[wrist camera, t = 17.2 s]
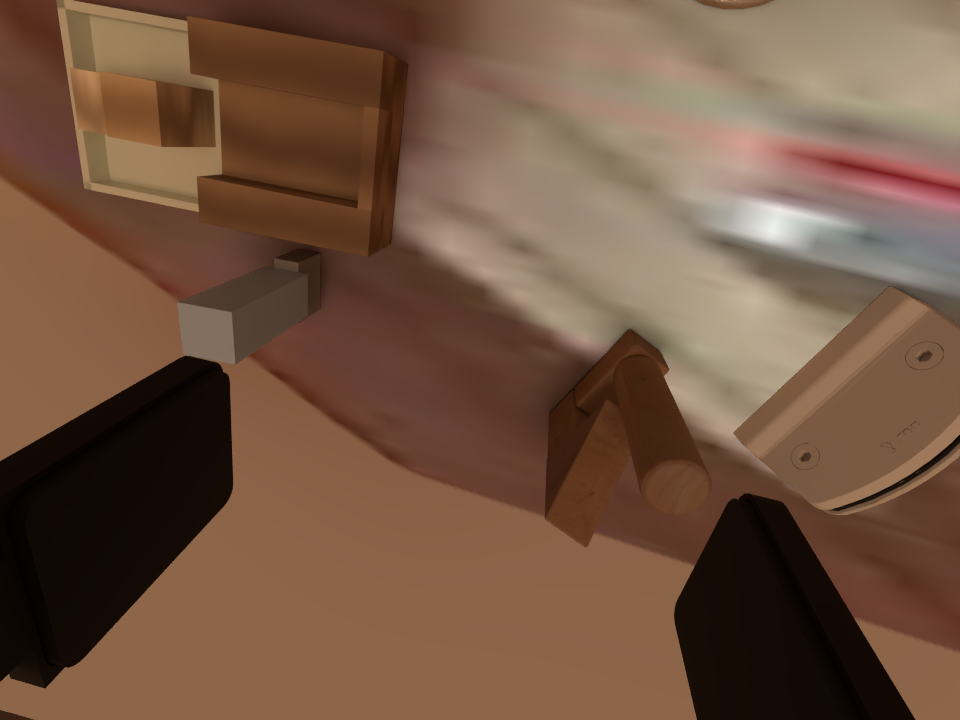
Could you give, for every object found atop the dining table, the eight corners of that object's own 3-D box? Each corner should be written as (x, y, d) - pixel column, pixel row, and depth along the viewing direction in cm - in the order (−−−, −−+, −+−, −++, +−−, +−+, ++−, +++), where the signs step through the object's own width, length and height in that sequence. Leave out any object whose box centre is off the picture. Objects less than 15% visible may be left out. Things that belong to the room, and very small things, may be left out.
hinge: (894, 281, 37) (1039, 354, 29) (924, 308, 39) (1068, 383, 31) (729, 435, 44) (808, 530, 35) (762, 452, 46) (844, 545, 37)
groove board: (237, 33, 37) (186, 15, 32) (407, 64, 36) (383, 51, 31) (241, 213, 42) (199, 222, 37) (390, 243, 41) (367, 256, 36)
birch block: (163, 83, 38) (115, 74, 39) (122, 77, 35) (69, 67, 35) (168, 139, 40) (121, 130, 40) (129, 139, 36) (78, 129, 37)
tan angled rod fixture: (547, 414, 45) (541, 565, 29) (629, 326, 41) (677, 445, 25) (578, 437, 46) (590, 598, 29) (663, 352, 42) (732, 486, 25)
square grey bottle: (289, 247, 43) (175, 290, 30) (329, 254, 42) (230, 300, 30) (291, 303, 45) (184, 365, 32) (328, 309, 44) (236, 375, 32)
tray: (86, 6, 37) (55, -3, 35) (234, 33, 37) (213, 25, 34) (109, 186, 43) (84, 188, 41) (239, 212, 42) (221, 216, 40)
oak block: (164, 81, 38) (98, 70, 33) (213, 91, 38) (155, 81, 33) (168, 138, 40) (107, 136, 34) (215, 147, 40) (161, 147, 34)
